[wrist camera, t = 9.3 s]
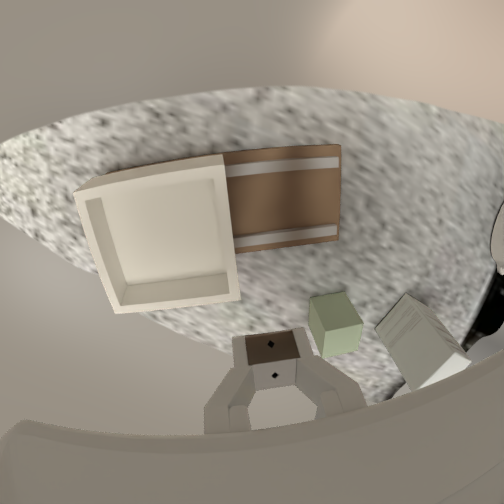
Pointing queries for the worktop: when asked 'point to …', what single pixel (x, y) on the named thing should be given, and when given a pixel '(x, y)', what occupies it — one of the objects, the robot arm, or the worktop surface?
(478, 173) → the worktop surface
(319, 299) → the block
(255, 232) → the track
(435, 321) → the supplement box
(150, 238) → the square white tray
